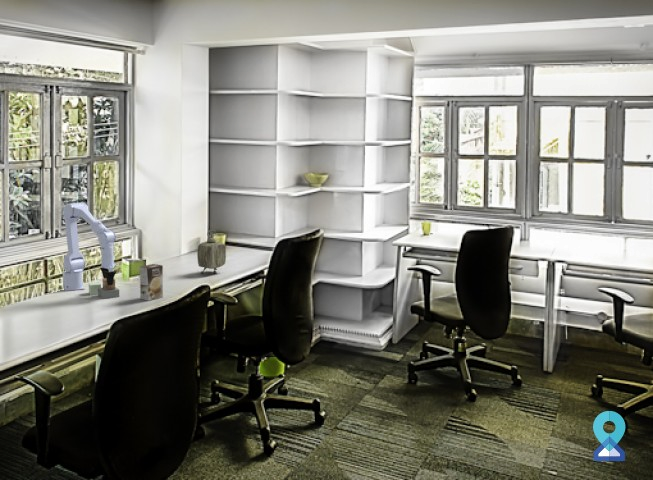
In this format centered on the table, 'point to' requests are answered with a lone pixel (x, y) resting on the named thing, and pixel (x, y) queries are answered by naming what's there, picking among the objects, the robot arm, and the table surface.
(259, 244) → the table surface
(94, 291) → the sage cube
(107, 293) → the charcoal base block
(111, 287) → the walnut cube
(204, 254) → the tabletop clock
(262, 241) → the table surface
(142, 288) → the coffee box
